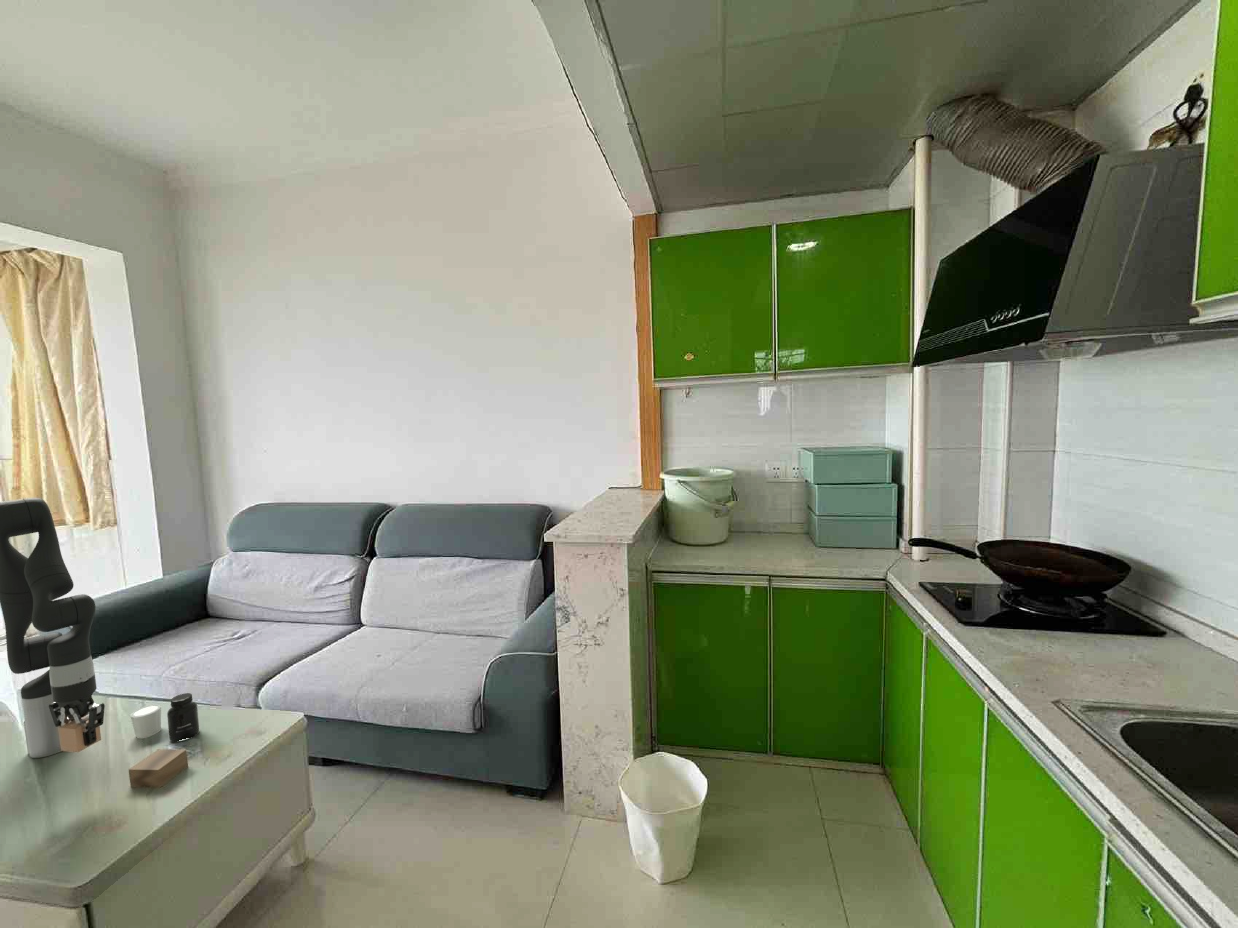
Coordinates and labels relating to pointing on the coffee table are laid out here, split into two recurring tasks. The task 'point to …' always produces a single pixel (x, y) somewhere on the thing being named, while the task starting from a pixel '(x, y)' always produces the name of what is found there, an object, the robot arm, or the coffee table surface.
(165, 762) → the walnut box
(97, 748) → the coffee table surface
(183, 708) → the supplement bottle
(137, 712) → the white cylinder
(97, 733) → the tan block
